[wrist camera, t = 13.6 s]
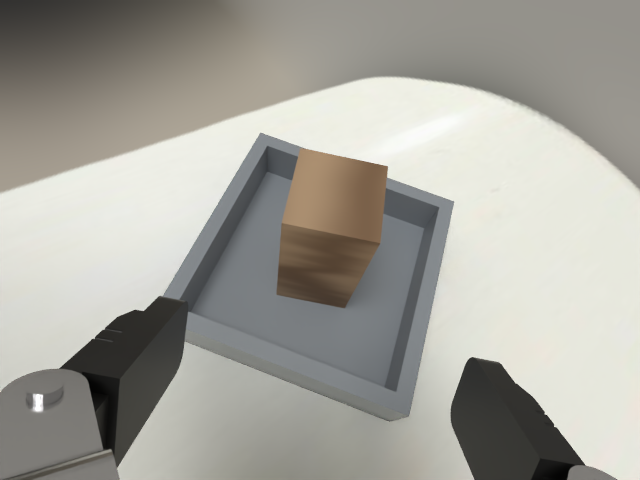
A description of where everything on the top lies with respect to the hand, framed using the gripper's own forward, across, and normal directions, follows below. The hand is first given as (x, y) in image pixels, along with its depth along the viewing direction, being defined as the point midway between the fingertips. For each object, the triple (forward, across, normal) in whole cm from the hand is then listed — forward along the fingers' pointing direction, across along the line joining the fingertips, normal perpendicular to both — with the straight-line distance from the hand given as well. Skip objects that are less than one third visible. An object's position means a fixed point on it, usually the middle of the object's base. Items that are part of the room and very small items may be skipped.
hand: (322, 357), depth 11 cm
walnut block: (+18, 0, +4) cm, 18 cm away
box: (+18, 0, +5) cm, 19 cm away
